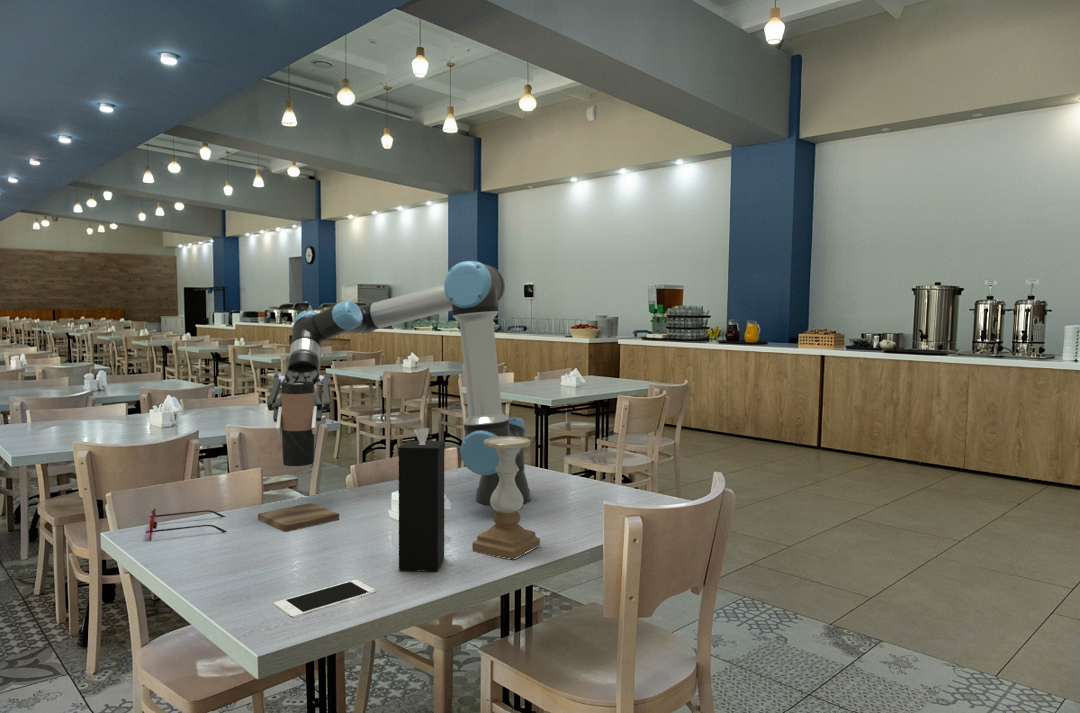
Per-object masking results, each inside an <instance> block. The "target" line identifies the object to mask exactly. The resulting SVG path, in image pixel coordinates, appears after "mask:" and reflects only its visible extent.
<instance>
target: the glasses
mask: <svg viewBox="0 0 1080 713" xmlns="http://www.w3.org/2000/svg"><path fill="white" fill-rule="evenodd" d="M150 513H151V515H149V518H150V520H149V530H148V529H147V530H145V534H147V535H148V534H149V540H150V541H151V540H152V539H153V537H152V536H153V533H158V532H168V531H175V530H185V529H186V530H187V529H193V528H202V527H212V528H215V529H216V530H218V531H220V532H222V533H224V532H227V533H228V531H227V530H225V529H223V528H220V527H218V526H216V525H215V524H214V525H213V524H200V525H194V526H193V525H192V526H191V525H190V526H181V527H172V528H163V529H157V527H158V522H157V521H155V519H156V518H157V517H158V518H159V517H168V516H177V515H187V514H188V515H189V514H197V513H212V514H215V515H217V516H219V517H220V518H222V517H225V518H226V515H224V514H221V513H219V512H217V511H215V510H210V509H209V510H208V509H207V510H197V511H195V510H194V511H187V512H186V511H185V512H175V513H166V514H165V513H164V514H156V509H155V508H153V510H151V511H150Z"/></svg>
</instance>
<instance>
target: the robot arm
mask: <svg viewBox="0 0 1080 713" xmlns="http://www.w3.org/2000/svg"><path fill="white" fill-rule="evenodd" d="M505 287H506V286H505V280H504V278H503V275H502V273H501V272H500V271H499V270H498V269H496V267H494V266H492V265H489V264H485V263H481V262H480V261H476V260H466V261H460V262H458V263H456V264H455V265H453V266H452V267H451V268H450V269H449V270H448V272H447V273H446V275H445V278H444V283H443V284H440V285H437V286H433V287H429V288H425V289H421V290H418V291H414V292H410V293H405V294H403V295H398V296H395V297H391V298H386V299H382V300H379V301H375V302H372V303H369V304H365V305H361V306H360V305H359V306H358V304H357V303H356V302H354V301H353V300H345V301H343V302H338V303H337V304H335V305H333V306H331V307H329V308H326V309H325V310H322V311H320V312H317V311H314V310H308V311H307V310H304V311H303V310H302V311H301V312H299V313H297V315H296V316H295V318H294V323H293V326H292V335H291V336H292V337H291V344H290V350H289V357H288V358H289V359H288V364H287V371H286V373H285V374H284V375H279V374H277V373H275V374H274V375H273V384H272V387H271V390H270V393H269V396H268V398H267V401H266V405H267V411H269V412H271V411H273V415H272V418H273V422H274V423H276V424H275V425H276V426H275V430H276V435H279V436H280V435H281V436H282V393H281V394H280V390H281V386H282V383H283V382H287V383H288V384H294V383H296V382H298V381H309V382H314V385H315V384H317V383H318V381H319V382H320V384H321V385H322V389H323V390H322V392H323V401H324V402H322V401H321V399H320V396H319V394H318V392H317V390H316V388H315V386H314V410H313V418H312V434H314V435H316V434H317V423H318V422H321V421H322V420H323V411H325V410H326V411H330V410H331V401H330V392H329V385H330V383H331V379H330V374H328V373H326V374H325V373H324V375H320V374H319V369H320V368H319V366H320V356H321V347H322V346H321V345H322V343H323V342H325V341H328V340H331V339H333V338H335V337H338V336H340V335H342V334H343V335H344V334H345V335H346V334H369V333H372V332H374V331H376V330H378V329H383V328H387V327H391V326H395V325H399V324H402V323H403V324H404V323H406V322H407V323H408V322H410V321H415V320H419V319H423V318H427V317H432V316H435V315H439V314H443V313H447V312H451V311H452V318H454V319H455V320H456V321H457V322H458V324H459V329H460V339H461V340H460V341H461V351H462V360H463V361H462V362H463V370H464V380H465V381H464V382H465V389H466V400H467V401H466V402H467V409H468V410H467V411H468V416H467V417H466V419H465V420H464V421H463V431H464V432H463V433H464V439H463V440H462V442H461V445H460V451H459V452H460V457H461V458H460V459H461V460H462V463H463V464H464V466H465V467H466V468H467V469H468V470H469V471H471V472H472V473H473V474H475V475H479V476H480V479H479V482H478V483H479V484H478V487H477V488H476V490H475V500H476V502H477V503H480V504H483V505H487V506H491V504H490V498H491V495H492V493H493V492H494V490H495V489H496V487H497V485H498V483H499V476H498V474H497V472H496V471H495V468H496V467H497V465H498V463H499V457H498V455H497V453H496V452H495V448H491V447H487V446H485V445H484V440H485V439H487V438H492V437H503V436H511V437H523V438H526V436H525V435H526V428H525V420H524V419H523V418H520V417H508V416H507V415H505V413H504V412H503V409H502V407H503V406H502V398H501V389H500V388H501V387H500V378H499V376H500V375H499V367H498V358H497V357H498V356H497V348H496V337H495V327H494V326H495V325H494V319H495V318H496V317H497V315H498V314H499V304H498V303H499V302H500V301H501V299H502V298H503V296H504V293H505V289H506V288H505ZM279 394H280V395H279ZM525 448H526V447H524V448H520V450H519V452H518V454H517V455H516V457H515V463H516V465H517V467H518V468H519V471H518V472H517V474H516V476H515V483H516V485H517V487H518V489H519V490H520V492H521V494H522V496H523V500H524V501H523V503H524V504H526V502H527V503H528V502H530V501H529V500H531V489H530V488H529V485H528V480H527V477H526V476H527V475H526V472H525Z"/></svg>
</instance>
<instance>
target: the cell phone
mask: <svg viewBox="0 0 1080 713" xmlns="http://www.w3.org/2000/svg"><path fill="white" fill-rule="evenodd" d="M374 589H375V588H372V587H370V586H369V585H367V584H365V583H363V582H361V581H360V580H358V579H353V580H349V581H346V582H341V583H338V584H335V585H332V586H331V585H330V586H327V587H324V588H319V589H317V590H313V591H309V592H306V593H303V594H299V595H296V596H292V597H287V598H284V599H281V600H278V601H274V602H273V605H274V606H275V607H276V606H277V608H278V609H279V610H280V611H282V612H283V611H284V612H283V613H285V614H286V613H287V614H288V616H289V615H290V616H292V617H291V618H295V617H294V616H297V615H301V614H304V613H307V614H309V613H308V612H310V613H312V612H311V611H314V610H316V609H320V608H323V607H325V606H326V607H327V606H330V605H333V604H336V603H340V602H342V601H343V600H347V599H348V600H349V598H350V599H351V598H355V597H359V596H363V595H365V594H369V592H370V591H371V592H373V591H374ZM372 590H373V591H372ZM368 591H369V592H368ZM366 592H367V593H366ZM363 597H364V596H363ZM340 604H341V603H340ZM333 606H334V605H333ZM330 607H331V606H330ZM327 608H328V607H327ZM320 610H321V609H320ZM314 612H315V611H314ZM287 614H286V615H287ZM304 615H305V614H304ZM290 616H289V617H290ZM301 616H302V615H301ZM297 617H298V616H297Z"/></svg>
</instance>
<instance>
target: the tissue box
mask: <svg viewBox="0 0 1080 713" xmlns="http://www.w3.org/2000/svg"><path fill="white" fill-rule="evenodd" d="M413 431H414V434H415V436H416V438H417V440H406V441H405V442H404V443H402V444H401V445H399V447H398V453H397V455H398V571H399V570H400V571H403V570H404V571H405V570H409V571H408V572H410V570H411V572H418V571H417V570H421V571H420V572H438V571H439V570H438V569H440V568H439V567H441V566H442V563H443V562H444V559H445V450H446V441H445V440H427V439H428V436H429V432H430V428H429V427H428V428H427V427H426V428H425V427H424V428H415V429H413ZM413 570H414V571H413ZM422 570H424V571H422ZM425 570H426V571H425Z"/></svg>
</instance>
